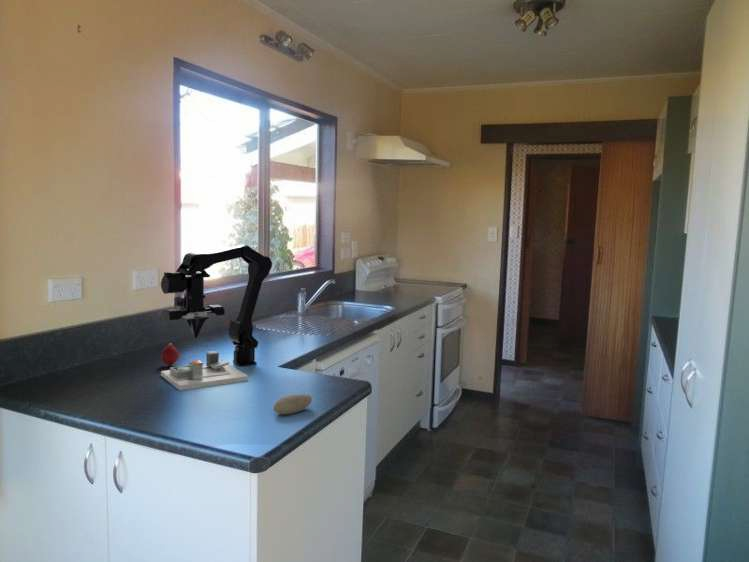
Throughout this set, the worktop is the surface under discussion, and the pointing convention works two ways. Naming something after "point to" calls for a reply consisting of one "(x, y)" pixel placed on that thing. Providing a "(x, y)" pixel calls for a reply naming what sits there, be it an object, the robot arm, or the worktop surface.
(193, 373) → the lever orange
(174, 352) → the onion
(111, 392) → the worktop surface
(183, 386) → the panel
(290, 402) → the stone
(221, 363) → the rocker grey
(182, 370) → the button green
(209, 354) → the slider grey
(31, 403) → the worktop surface
